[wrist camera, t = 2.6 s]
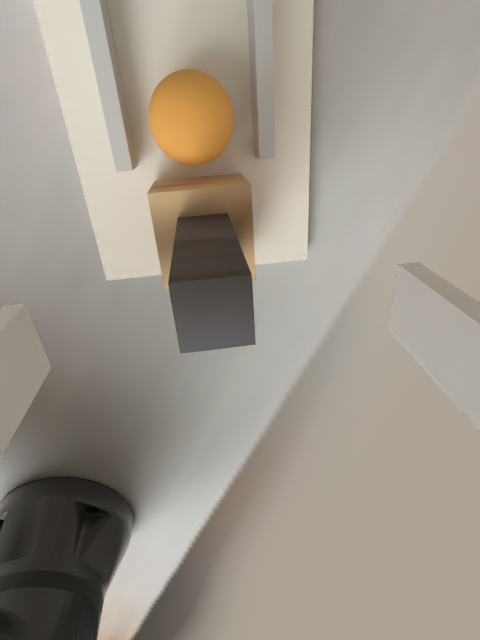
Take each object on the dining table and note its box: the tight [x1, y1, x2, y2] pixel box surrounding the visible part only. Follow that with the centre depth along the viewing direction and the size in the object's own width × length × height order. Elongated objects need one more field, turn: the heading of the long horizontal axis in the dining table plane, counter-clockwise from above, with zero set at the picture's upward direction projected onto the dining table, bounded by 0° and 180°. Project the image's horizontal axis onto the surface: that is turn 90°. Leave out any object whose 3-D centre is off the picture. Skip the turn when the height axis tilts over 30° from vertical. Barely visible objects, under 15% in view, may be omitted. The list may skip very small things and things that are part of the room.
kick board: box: [33, 0, 314, 281], centre depth 22 cm, size 27×16×4 cm, turn 4°
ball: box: [149, 69, 234, 165], centre depth 22 cm, size 5×5×5 cm
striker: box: [147, 173, 256, 353], centre depth 20 cm, size 6×6×15 cm
